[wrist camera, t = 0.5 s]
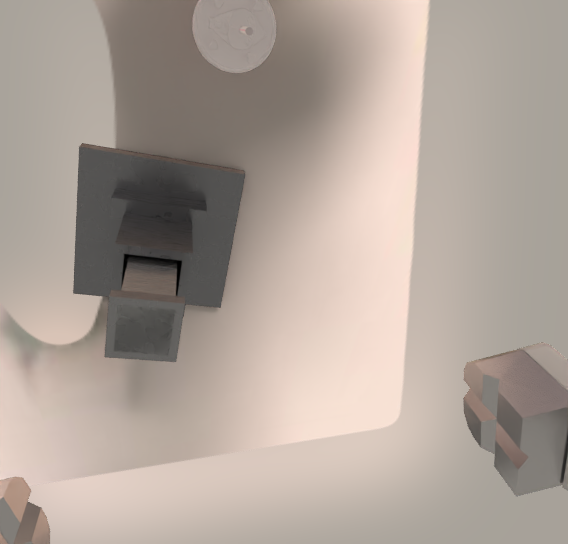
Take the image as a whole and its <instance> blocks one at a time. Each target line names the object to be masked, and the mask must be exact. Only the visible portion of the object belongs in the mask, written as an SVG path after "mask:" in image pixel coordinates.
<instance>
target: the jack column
mask: <svg viewBox="0 0 568 544" xmlns="http://www.w3.org/2000/svg"><path fill="white" fill-rule="evenodd" d="M176 279H177V260H173V259H165V258H156V257H148V256H139V255H131V254H130V255H129V259H128V263H127V268H126V272H125V276H124V280H123V284H122V288H121V290H112V289H111V292H110V295H109V305H108V318H107V332H106V345H105V357H110V358H125V359H140V360H155V361H170V362H176V359H177V352H178V345H179V339H180V332H181V325H182V319H183V312H184V305H185V297H182V296H176Z"/></svg>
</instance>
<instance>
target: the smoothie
mask: <svg viewBox="0 0 568 544" xmlns="http://www.w3.org/2000/svg"><path fill="white" fill-rule="evenodd" d="M192 32H193V36H194V39H195V43H196V45H197V47H198V49H199V51H200V53H201V54H202V56H203V57H204V58H205V59H206V60H207V61H208V62H209V63H210V64H211V65H213V66H214V67H216V68H217V69H220V70H222V71H225V72H228V73H244V72H248V71H250V70H253V69H255V68H256V67H258V66H259V65H260V64H262V63H263V62H264V61H265V60H266V58H267V57H268V56H269V54H270V52H271V50H272V48H273V46H274V43H275V38H276V19H275V15H274V12H273V9H272V7H271V5H270V3H269V1H268V0H199V1H198V3H197V4H196V6H195V10H194V14H193V18H192Z"/></svg>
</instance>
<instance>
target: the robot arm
mask: <svg viewBox="0 0 568 544" xmlns="http://www.w3.org/2000/svg"><path fill="white" fill-rule="evenodd" d="M464 381H465V382H466V383H467V384H468V386H469V387H470V389H469V391H468V392H467V394H466V395H465V397H464V414H465V417H466V421H467V424H468V427H469V429H470V431H471V433H472V435H473V437H474V438H475V440H476V441H477V443H478V444H479V445H480V447H481V448H483V449H485V450H487V451H489V452H492V453H493V454H495V461H494V466H495V468H496V469H497V471H498V472H499V473H500V475H501V476H502V477H503V479H504V480H505V482H506V483H507V484H508V486H509V487H510V488H511V490H512V491H513V493H514V494H515V495H516V496H520V495H524V494H528V493H532V492H536V491H540V490H544V489H548V488H552V487H556V486H560V485H563V488H564V489H566V490H568V360H567V359H566V358H565V357H564V356H563V355H561V354H560V353H559V352H558V351H557V350H555V349H554V348H553V347H552V346H551V345H549V344H546V343H543V342H541V343H537V344H534V345H530V346H526V347H523V348H519V349H517V350H513V351H509V352H505V353H501V354H498V355H494V356H490V357H486V358H482V359H479V360H475V361H471V362H467V363H466V365H465V368H464ZM30 492H31V489H30V488H29V486H28V485H27V483H26V482H25V480H24V479H23V478H21V477H12V478H8V479H4V480H0V544H50V528H49V525H48V521H47V517H46V515H45V514H44V512H43V510H42V508H41V507H38V506H36V505H34V504H32V503H30V502H28V499H29V496H30Z"/></svg>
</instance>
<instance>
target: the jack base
mask: <svg viewBox="0 0 568 544" xmlns="http://www.w3.org/2000/svg"><path fill="white" fill-rule="evenodd" d="M244 178H245V173H244V171H243V170H237V169H231V168H226V167H220V166H214V165H208V164H202V163H196V162H190V161H184V160H178V159H172V158H166V157H160V156H155V155H149V154H143V153H137V152H131V151H125V150H119V149H113V148H107V147H101V146H95V145H89V144H83V143H82V144H81V146H80V147H79V168H78V193H77V216H76V241H75V266H74V290H73V293H75V294H86V295H96V296H106V297H109V295H110V292H111V289H112V290H121V288H122V284H123V280H124V276H125V272H126V268H127V263H128V259H129V255H130V254H131V255H139V256H148V257H156V258H165V259H173V260H177V279H176V296H182V297H185V304H188V305H199V306H209V307H219V308H220V307H221V302H222V296H223V291H224V286H225V280H226V275H227V269H228V264H229V259H230V253H231V248H232V243H233V237H234V232H235V226H236V221H237V216H238V210H239V205H240V200H241V194H242V189H243V183H244ZM184 310H185V305H184ZM183 316H184V312H183Z"/></svg>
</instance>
